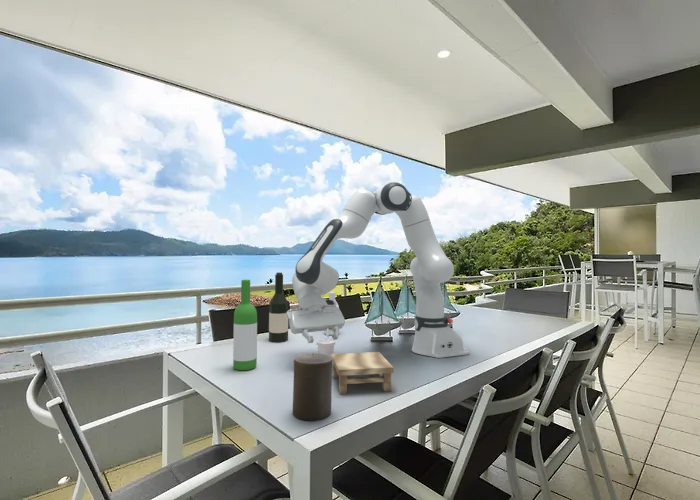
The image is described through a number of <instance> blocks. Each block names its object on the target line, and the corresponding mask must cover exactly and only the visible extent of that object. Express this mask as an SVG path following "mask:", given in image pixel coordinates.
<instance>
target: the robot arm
mask: <svg viewBox="0 0 700 500" xmlns="http://www.w3.org/2000/svg"><path fill="white" fill-rule="evenodd" d="M393 213H395V214H396V215H397V216H398V218H399V219H400V222H401V226H402V229H403V232H404V235H405V238H406V242H407V245H408V246H409V248H410V249H411V250H412V252H413V253H414V256H415V257H414V258H413V259H411V261H410V264H409V271H410V273H411V275H412V278H413V279H412V280H413V286H414V291H415V297H416V298H415V303H416V304H415V306H416V307H415V310H416V313H415V316H414V329H415V331H414V337H413V338H414V339H413V342H412V347H411V352H413V353H415V354H418V355H422V356H427V357H428V356H429V357H434V358H437V359H439V358H440V359H441V358H447V357H448V358H450V357H457V356H467V355H469V354H470V350H469V349H468V348H466V347H465V346H464V343H463V342H464V341H463V338H462V336H461V335H460V334H458V332H456V331H455V330H453V328H451V327H450V326H449V324H450V325H452V324H453V323H454V320H453V319H452V318H449V317H446V316H445V295H444V294H443V291H442V289H441V283H446V282H448V281H449V280H451V279H452V278H453V275H454V273H455V267H454V264H453V261H452V260H450V258H448V256H447V254H446V253H445V252H444V250H443V247H442V246H441V244H440V242H439V241H438V239H437V237H436V234H435V231H434V228H433V226H432V222H431V219H430V216H429V213H428V211H427V209H426V207H425V204H424V202H423V201H422V198H421V197H419V196H418V195H415V194H411V193H410V192H409V190H408V188H407V187H406V186H404V184H402V183H400V182H395V181H394V182H388V183H387V184H386V183H385V184H384V185H382V186H380V187H379V188H377V189H375V190H374V191H370V190H369V189H364V188H362V189H361V188H360V189H357V190H356V191H354V193H353V194H352V195H351V197H349V199H348V200H347V202H346V204H345V205H344V207H343V209H342V210H341V213H340V214H339V215H338V216H337V217H336V218H334V219H332V220H330V221H329V222H328V223H326V225H325V226H324V228H323V229H322V231H320V234H319V235H318V236H317V238H315V240H314V242H313V243H312V245H311V246H310V247H309V249H308V250H307V251H306V252H305V253H304V254H303V255H302V256H301V257H300V258H299V259H298V260H297V263H296V265H295V270H294V271H295V273H294V274H293V275H292V277H291V278H292V280H291V281H292V282H291V283H292V284H291V285H292V289H293V291H294V292H293V293H294V296H295V298H296V299H297V302H298V303H297V305H298V307H299V308H290V309H288V311H287V318H288V326H289V329H290V332H291V333H292V334H294V335H297V334H302V337H304V339H306V340H307V343H308V344H312V343H313V342H314V340H315V339H314V336H313V335H310V334H309V333H317V332H323V331H324V332H325V331H326V330H327V328H329V330H332V331H333V332H334V333H333V335H331V338H332V340H335V341H336V340H338V339H339V334H337V332H338V329H339V330H340V329H343V327H344V326H345V325H346V324H345V323H346V319H345V317H344V315H343V313H342V311H341V309H340V307H339V308H338V307H336V305H337V304H338V303H337V304H336V302H337V301H334V300H329V298H325V297H323V296H324V295H326V294H327V293H328V294H329V292H332V290H333V291H334V289H336V287H337V285H338V283H339V281H340V275H339V272H338V270H337V269H335V268H334V267H332V266H331V265H329V264H328V263H326V262H323V259H324V257H325V255H326V254H327V252H328V251H329V250H330V248H331V247H332V246H333V243H335V242H336V241H337V240H339V239H347V240H349V239H351V240H352V239H357V238H359V237H360V236H362V235H363V233H364V232H365V231H366V229H367V228H368V227H367V226H368V225H369V222H371V219H372V217H373V215H374V214H376V215H382V216H383V215H389V214H393Z"/></svg>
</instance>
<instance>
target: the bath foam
mask: <svg viewBox="0 0 700 500" xmlns="http://www.w3.org/2000/svg"><path fill="white" fill-rule="evenodd" d="M328 299H329V300H334V301H336V292H334V291H329V292H328ZM336 304H337V305H336V307H338V308H339V309H340V307H339V303H338V302H337V301H336ZM333 333H334V332H333V331H332V330H329V333H328V336H332V335H333ZM324 334H325V335H326V336H327V330H326V331H324ZM337 334H338V335H339V334H340V329H338V332H337Z"/></svg>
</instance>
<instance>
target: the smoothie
mask: <svg viewBox="0 0 700 500" xmlns="http://www.w3.org/2000/svg"><path fill="white" fill-rule="evenodd" d="M328 333H329V328H327V335H326V338H321V339H317V340H316V345H317V353H320V354H326V355H329V356H331V354H334V351H335V345H336V340H333V338H332V339H330V338H329V335H328Z"/></svg>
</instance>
